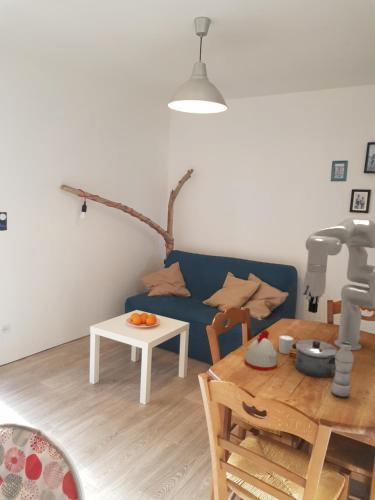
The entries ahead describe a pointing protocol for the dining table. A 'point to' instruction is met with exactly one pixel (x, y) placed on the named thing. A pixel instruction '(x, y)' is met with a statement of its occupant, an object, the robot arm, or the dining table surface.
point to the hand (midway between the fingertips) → (312, 311)
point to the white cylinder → (285, 344)
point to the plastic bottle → (342, 370)
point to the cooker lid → (316, 348)
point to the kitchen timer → (261, 354)
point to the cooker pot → (314, 364)
